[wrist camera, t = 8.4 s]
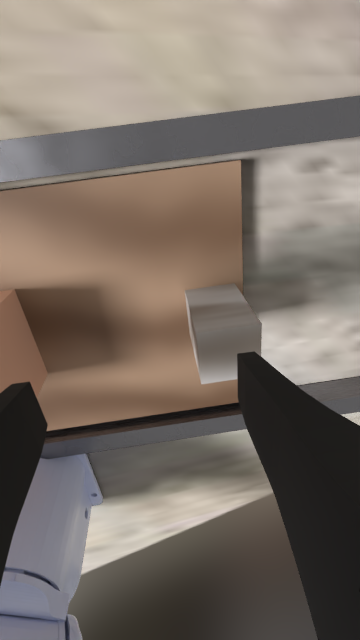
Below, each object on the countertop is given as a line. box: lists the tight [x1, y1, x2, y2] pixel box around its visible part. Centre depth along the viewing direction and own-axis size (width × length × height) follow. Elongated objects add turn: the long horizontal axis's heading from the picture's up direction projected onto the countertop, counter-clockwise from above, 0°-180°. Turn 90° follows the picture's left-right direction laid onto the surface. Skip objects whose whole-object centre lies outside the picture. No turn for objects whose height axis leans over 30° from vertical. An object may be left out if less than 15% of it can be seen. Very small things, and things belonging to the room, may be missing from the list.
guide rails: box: [0, 96, 360, 459], centre depth 19 cm, size 20×26×2 cm
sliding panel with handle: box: [0, 160, 262, 431], centre depth 17 cm, size 16×24×6 cm, turn 96°
